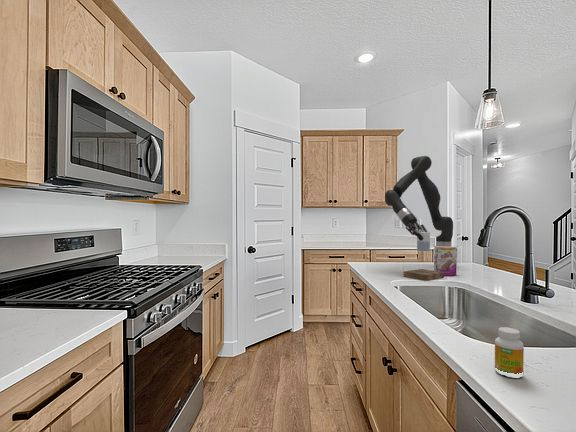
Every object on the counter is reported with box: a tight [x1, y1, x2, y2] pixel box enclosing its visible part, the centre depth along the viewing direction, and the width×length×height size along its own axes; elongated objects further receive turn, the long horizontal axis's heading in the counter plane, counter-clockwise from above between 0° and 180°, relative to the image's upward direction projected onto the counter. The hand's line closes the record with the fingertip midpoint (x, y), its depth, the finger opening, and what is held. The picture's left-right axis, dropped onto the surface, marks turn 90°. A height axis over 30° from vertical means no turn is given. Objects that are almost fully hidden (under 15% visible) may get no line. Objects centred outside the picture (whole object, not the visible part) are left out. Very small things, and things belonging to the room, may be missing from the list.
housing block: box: [416, 231, 431, 252], centre depth 192 cm, size 5×4×10 cm
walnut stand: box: [403, 268, 445, 282], centre depth 192 cm, size 16×14×3 cm
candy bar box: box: [433, 245, 458, 277], centre depth 198 cm, size 11×5×16 cm, turn 84°
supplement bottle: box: [494, 326, 525, 374], centre depth 77 cm, size 5×5×10 cm
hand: (425, 239), depth 191 cm, fingers closed on housing block, 5 cm apart
